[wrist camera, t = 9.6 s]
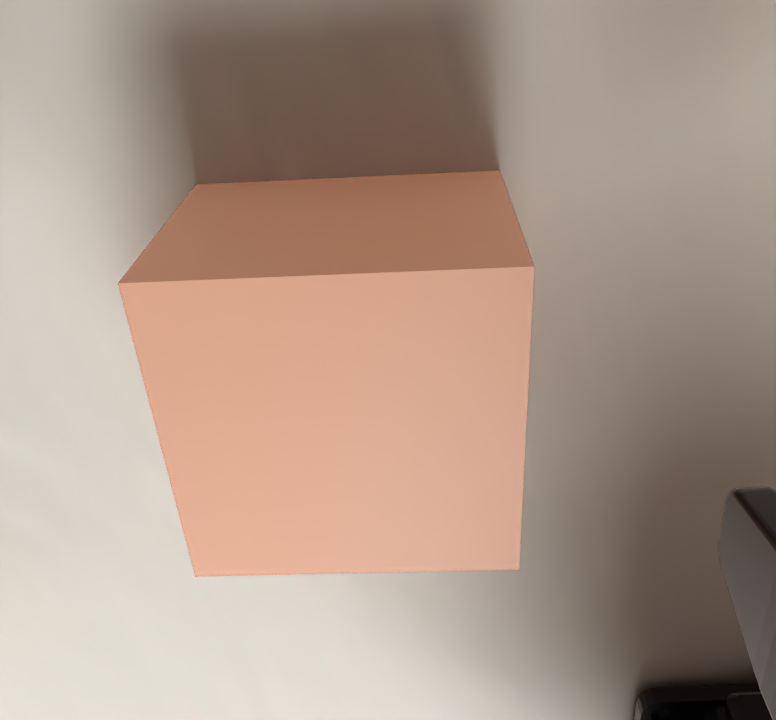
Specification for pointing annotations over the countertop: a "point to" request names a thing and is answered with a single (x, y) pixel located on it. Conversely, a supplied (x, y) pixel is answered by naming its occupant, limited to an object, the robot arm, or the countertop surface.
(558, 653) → the countertop surface
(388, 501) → the terracotta brick
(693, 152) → the countertop surface
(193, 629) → the countertop surface
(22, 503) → the countertop surface
